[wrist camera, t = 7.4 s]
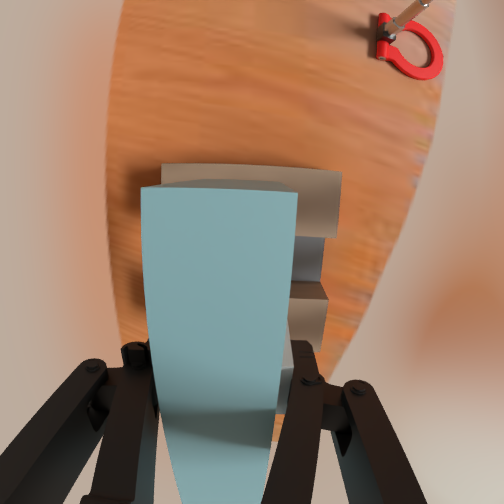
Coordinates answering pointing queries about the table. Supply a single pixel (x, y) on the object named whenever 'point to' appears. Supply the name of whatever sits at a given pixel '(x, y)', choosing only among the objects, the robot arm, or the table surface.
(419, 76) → the tow hook
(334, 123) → the table surface
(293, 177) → the grey grooved block
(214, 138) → the table surface
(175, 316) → the teal beam
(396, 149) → the table surface
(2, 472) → the robot arm
